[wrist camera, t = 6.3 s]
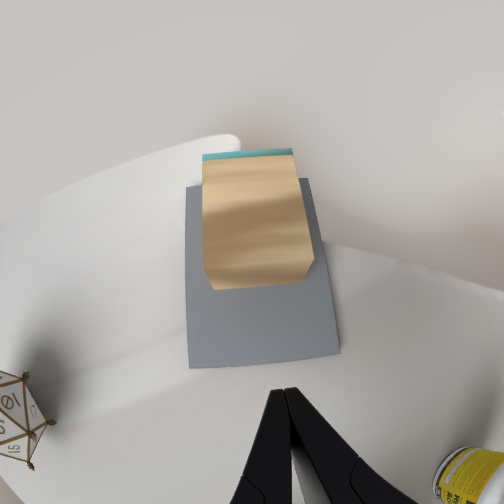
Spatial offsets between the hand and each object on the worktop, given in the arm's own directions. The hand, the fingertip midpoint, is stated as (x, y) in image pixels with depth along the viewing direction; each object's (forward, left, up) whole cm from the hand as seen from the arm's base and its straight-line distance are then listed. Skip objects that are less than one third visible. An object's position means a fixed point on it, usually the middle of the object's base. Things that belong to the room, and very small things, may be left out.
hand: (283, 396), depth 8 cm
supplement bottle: (-20, -1, -10) cm, 22 cm away
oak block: (+4, -5, -7) cm, 10 cm away
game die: (+12, +16, -10) cm, 23 cm away
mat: (+5, -6, -10) cm, 13 cm away
